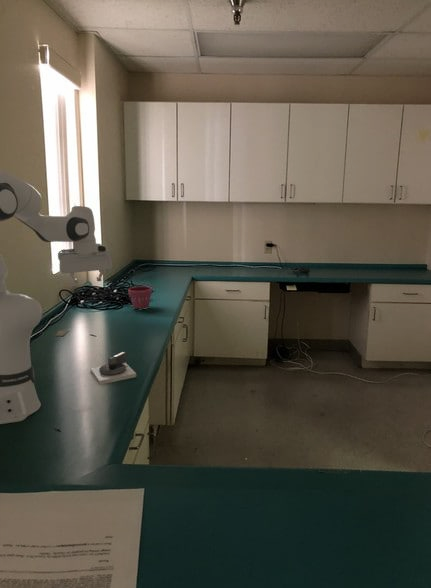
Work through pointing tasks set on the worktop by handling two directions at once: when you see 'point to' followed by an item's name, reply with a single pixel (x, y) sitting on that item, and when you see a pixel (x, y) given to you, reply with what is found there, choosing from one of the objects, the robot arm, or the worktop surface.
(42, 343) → the worktop surface
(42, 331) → the worktop surface
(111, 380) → the dial base
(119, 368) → the dial
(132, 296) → the plant pot
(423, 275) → the worktop surface
